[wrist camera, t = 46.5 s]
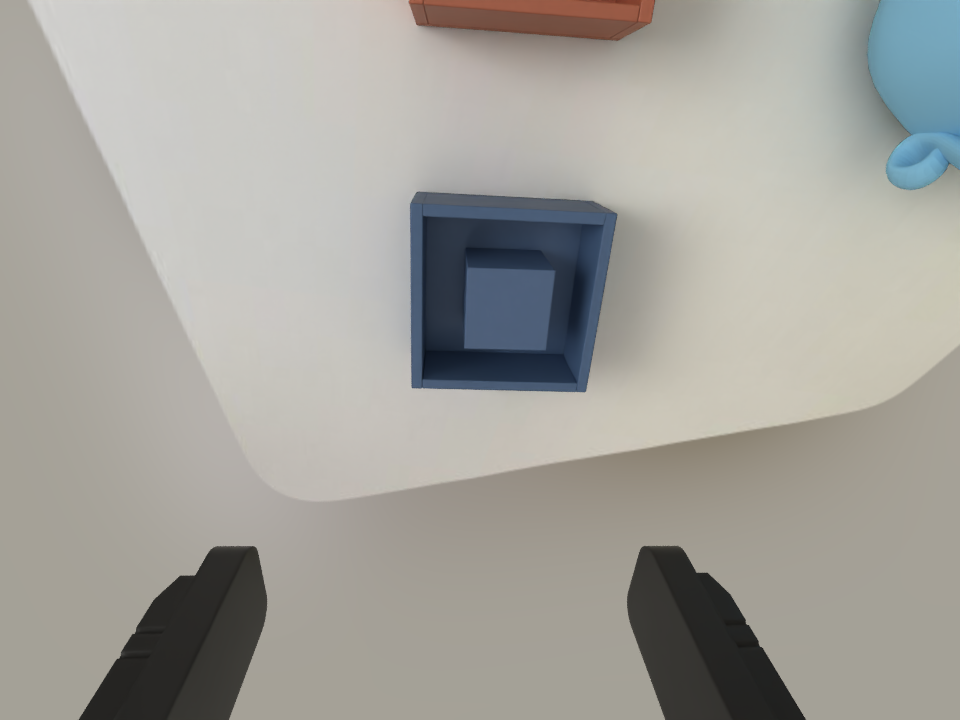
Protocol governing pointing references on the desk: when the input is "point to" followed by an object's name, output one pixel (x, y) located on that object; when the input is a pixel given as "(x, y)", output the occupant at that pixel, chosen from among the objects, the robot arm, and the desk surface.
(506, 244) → the slate bin
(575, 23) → the terracotta bin
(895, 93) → the decorative pot
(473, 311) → the slate block
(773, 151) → the desk surface
